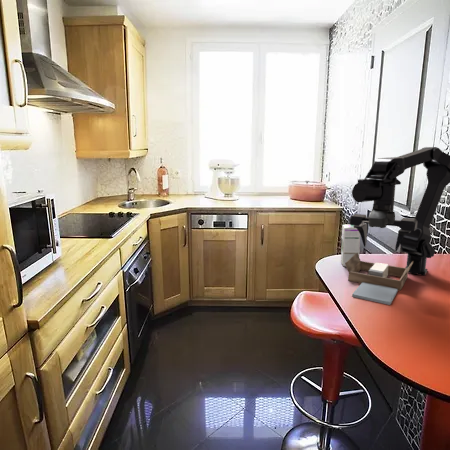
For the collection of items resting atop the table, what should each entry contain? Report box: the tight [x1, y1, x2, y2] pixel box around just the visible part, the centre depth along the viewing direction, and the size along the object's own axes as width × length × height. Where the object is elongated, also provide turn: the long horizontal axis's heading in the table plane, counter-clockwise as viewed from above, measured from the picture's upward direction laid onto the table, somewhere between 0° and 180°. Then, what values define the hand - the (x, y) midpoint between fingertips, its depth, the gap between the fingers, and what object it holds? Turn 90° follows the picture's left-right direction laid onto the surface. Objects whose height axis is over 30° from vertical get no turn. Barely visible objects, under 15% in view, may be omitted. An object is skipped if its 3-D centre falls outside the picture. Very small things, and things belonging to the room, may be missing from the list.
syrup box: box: [340, 223, 361, 267], centre depth 124 cm, size 6×6×14 cm
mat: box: [351, 282, 399, 306], centre depth 99 cm, size 11×10×1 cm
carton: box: [345, 253, 414, 291], centre depth 110 cm, size 13×18×6 cm
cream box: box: [367, 262, 390, 278], centre depth 110 cm, size 10×4×4 cm, turn 144°
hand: (380, 248), depth 108 cm, fingers open, 9 cm apart
